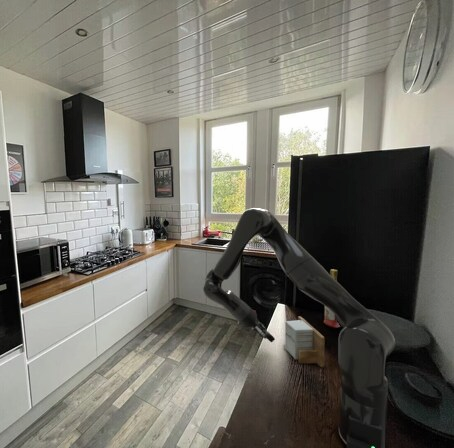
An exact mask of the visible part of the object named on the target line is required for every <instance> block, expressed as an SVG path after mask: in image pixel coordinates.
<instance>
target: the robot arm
mask: <svg viewBox="0 0 454 448" xmlns="http://www.w3.org/2000/svg"><path fill="white" fill-rule="evenodd" d="M255 236H258V237H260V238H261V239H262V240H263V241H265V242H266V244H267V245H268V246H269V247H270V248H271V249H272V250H273V252H274V255H275V256H276V258H277V261H278V263H279V265H280V267H281V269H282V272H284V274H285V275H286V276H287V277H288V279H289V280H290V281H291V282H292V283H293V284H294V285H295V287H297V289H299V291H301V292H302V293H304V294H305V295H306V296H308V297H310V298H311V299H313V300H314V301H317V302H318V303H320V304H322V305H323V306H324V307H325V306H326V307H328V308H329V309H330V310H331V311H332V312H333V313H334V314H335V315H336V316H337V317H338V318H339V319H340V322H341V323H342V324H343V325H344V327H343V328H342V329H341V330H340V332H339V335H338V339H337V345H338V346H337V355H338V356H337V359H338V362H337V363H338V367H339V370H340V392H339V393H340V395H339V396H340V397H339V415H338V416H339V421H338V422H339V424H338V437H339V439H340V441H341V442H342V443H343V444H344V445H345V446H346V448H386V433H387V419H388V405H389V389H390V388H389V387H390V384H389V383H390V382H389V379H388V378H387V376H386V373H385V372H386V371H385V370H386V359H387V358H388V357H389V356H390V355H391V354H392V353H393V352H394V350H395V349H396V346H397V343H396V338H395V337H394V336H395V335H394V334H393V332H392V331H391V330H390V329H389V327H388V326H387V325H386V324H385V323H384V322H382V321H381V320H380V319H379V318H378V317H376V316H375V315H374V314H373V313H372V312H371V311H369V309H367V308H366V307H365V306H364V305H362V304H361V303H360V302H359V301H357V300H356V299H355V298H354V297H353V296H352V295H351V294H350V293H349V292H348V291H347V290H346V289H345V287H343V286H342V285H341V284H340V283H339V282H338V280H337V281H336V280H335V279H334V278H333V277H332V276H331V273H330V272H329V271H327V270H326V269H325V268H324V266H323V265H322V264H321V263H320V262H319V261H318V260H317V259H316V258H315V257H313V256H312V255H311V253H309V252H308V250H306V249H305V248H304V247H303V246H302V245H301V244H300V243H299V242H298V241H297V240H296V239H294V238H293V237H292V236H291V235H290V234H289V233H288V232H287V230H286V229H285V228H284V227H283V225H282V224H281V223H280V222H279V220H278V218H276V217H275V215H274V214H273V213H272V212H271V211H269V210H267V209H263V208H255V207H253V208H252V207H251V208H248V209H246V210H244V212H242V214H241V216H240V217H239V220H238V222H237V224H236V226H235V229H234V231H233V233H232V235H231V238H230V240H229V242H228V244H227V246H226V248H225V249H224V251H223V253H222V254H221V256H220V257H219V258H218V260H217V262H216V263H215V265H214V267H213V268H212V269H210V270H209V272H207V273H206V275H205V277H204V279H203V286H202V292H203V294H204V295H205V297H206V298H207V299H209V300H210V301H212V302H214V303H216V304H217V305H220V306H221V307H222V308H223V309H224V310H226V311H227V313H229V314H230V315H231V317H233V318H234V319H235V320H236V321H237V322H238V323H239V324H240V325H242V327H244V328H250V327H251V329H252V330H253V332H256V333H257V334H258V335H259V337H260V338H263V339H264V340H266V339H267V341H268V342H270V343H273V342H274V341H275V337H274V336H273V335H272V334H271V333H270V332H269V331H268V329H267V328H266V327H265V326H264V324H263V323H262V322H261V321H260V320H259V319H258V313H257V312H256V311H255V310H254V309H253V308H252V307H251V306H249V305H248V304H247V303H246V302H245V301H243V300H242V299H241V298H239V297H238V295H236V294H235V293H234V292H232V290H224V289H223V287H222V284H223V282H224V281H227V280H229V279H230V278H231V276H232V275H233V274H234V273H235V271H236V270H237V268H238V267H239V265H240V263H241V261H242V257H243V254H244V251H245V249H246V247H247V245H248V244H249V242H251V240H252V239H253V238H255Z"/></svg>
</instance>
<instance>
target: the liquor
mask: <svg viewBox="0 0 454 448" xmlns="http://www.w3.org/2000/svg"><path fill="white" fill-rule="evenodd" d="M329 274H330V275H331V276H332V277H333V278H334V279H335V280H336V281H337V282H338V278H337V277H338V270H337V269H334V268H333V269H330V272H329ZM336 317H337V316H336V315H335V314H334V313H333V312H332V311H331V310H330V309H329V308H328V307H326V306H325V305H324V320H323V323H324V324H325V325H326V327H328V328H331V329H338V328H340V327H341V326H340V325H339V323H338V322H337V319H336Z"/></svg>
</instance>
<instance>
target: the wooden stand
mask: <svg viewBox="0 0 454 448" xmlns="http://www.w3.org/2000/svg"><path fill="white" fill-rule="evenodd" d="M297 320H302V321H303V322H305V323H306V324H307V325H308V326H310V327H311V328H312V329H313V350H299V358H298V359H297V360H298V363H299V364H317V365H318V366H319V367H320V368H325V345H326V344H325V343H326V340H325V339H326V338H325V336H324V335H323V334H321V333H320V332H319V331H318V330H317V329H316V328H314V326H312V325H311V324H310V323H309V322H308V321H307V320H306V319H305V318H303V317H302V316H298V317H297Z"/></svg>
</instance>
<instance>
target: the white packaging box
mask: <svg viewBox="0 0 454 448" xmlns="http://www.w3.org/2000/svg"><path fill="white" fill-rule="evenodd" d="M284 334H285V335H284V337H285V338H284V339H285V340H284V341H285V342H284V348H285V350H286V351H287V352H288V353H289V354H290V355H291V357H293V359H294V360H296V361H297V360H298V358H299V350H313V329H312V328H311V327H310V326H308V325H307V324H306V323H305V322H303V321H302V320H298V319H297V320H286V321H285V333H284Z"/></svg>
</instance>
